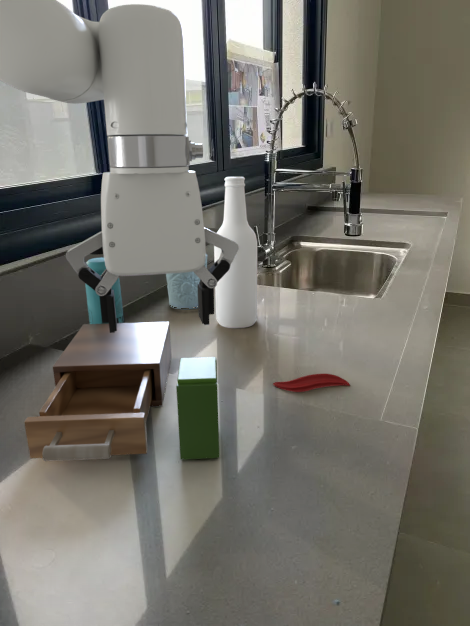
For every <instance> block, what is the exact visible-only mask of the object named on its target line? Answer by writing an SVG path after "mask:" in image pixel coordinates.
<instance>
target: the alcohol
mask: <svg viewBox="0 0 470 626" xmlns="http://www.w3.org/2000/svg"><path fill="white" fill-rule="evenodd" d="M245 180H246V178H245V177H244V176H226V177H225V178H224V181H225V182H224V187H225V188H224V206H223V221H222V224H221V226H220V227H219V229H218V230H217V232H216V233H217V234H219V235H222V236H224V237H226V238H228V239H230V240H232V241H234V242H235V243H237V244H238V246H239V249H238V251H237V253H236V256H235V258H234V260H233V262H232V263H231V265H230V269H229V270H228V272H227V273H226V274H225V275H224V276H223V277H222V278H221V279H220V280H219V281H218V282H217V286H216V287H214V297H215V319H216V321H217V323H218V325H220V326H221V327H223V328H227V329H246V328H249V327H251V326H253V325H255V324H256V322H257V320H258V239H257V235H256V233H255V231H254V229H253V228H252V227H251V226H250V225H249V222H248V215H247V204H246V203H247V202H246V192H245V186H246V183H245ZM213 252H214V253H213V255H214V256H213V257H214V259H213V260H214V263H215V262H216V261H217V260H218V259H219V257H220V254H221V252H222V251H221V249H220V248H218V247H216V246H214V245H213Z"/></svg>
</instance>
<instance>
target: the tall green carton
mask: <svg viewBox="0 0 470 626" xmlns="http://www.w3.org/2000/svg"><path fill="white" fill-rule="evenodd" d="M217 360H218V359H217V357H216V356H204V357H201V356H200V357H199V356H198V357H180V359H179V367H178V374H177V383H176V386H175V387H176V388H175V389H176V407H177V422H178V440H179V441H178V442H179V457H180V458H179V460H205V459H220V429H219V428H220V427H219V424H220V423H219V391H218V364H217V363H218V361H217Z"/></svg>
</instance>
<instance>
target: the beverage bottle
mask: <svg viewBox="0 0 470 626" xmlns="http://www.w3.org/2000/svg"><path fill="white" fill-rule="evenodd" d="M89 255H92V256H93V255H95V256H96V255H104V254H103V247H101V248H99V249H97V250H96V251H94V252H92V253H90V254H89ZM86 263H87V265H88V266H89V267H90V268H91V269H92V270H94V271H95V272H96V273H97V274H99V275H100V276H101V275H102V273H103V272H104V271H105V270H106V266H105V260H104V257H94V258H90V259H88V260H87V261H86ZM84 284H85V293H86V306H87V310H86V311H87V314H88V315H87V318H88V324H109V323H102V317H101V307H100V297H99V295H98V294H97V293H96V291H95V290H93V289H92V288H91V287H89V286H88V285H87V284H86V283H84ZM111 288H112V290H114V297H115V308H116V319H117V323H126V321H125V318H124V306H123V305H124V303H123V298H122V288H121V282H120V277H119V278H118V279H117V281H116V282H115V283H114V285H113V286H112V287H111Z"/></svg>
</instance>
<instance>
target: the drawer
mask: <svg viewBox="0 0 470 626" xmlns="http://www.w3.org/2000/svg"><path fill="white" fill-rule="evenodd" d="M153 392H154V374H153V369H139V370H109V371H79V372H65V373H64V375H63V376H62V378H61V379H60V381H59V382H58V384H57V385H56V387H55V386H54V389H53V390H52V391H51V393H50V394H49V396H48V398H47V399H46V401H45V402H44V404H43V405H42V406H41V408H40V410H39V411H38V414H39V416H37V415H36V416H27V417H26V418H25V420H24V422H23V423H24V428H25V435H26V442H27V446H28V453H29V459H42V460H43V462H56V461H57V462H58V461H79V460H106V459H110V458H111V456H125V455H147V453H148V449H149V446H148V434H147V421H148V417H149V413H150V409H151V407H150V405H151V401H152V396H153Z"/></svg>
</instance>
